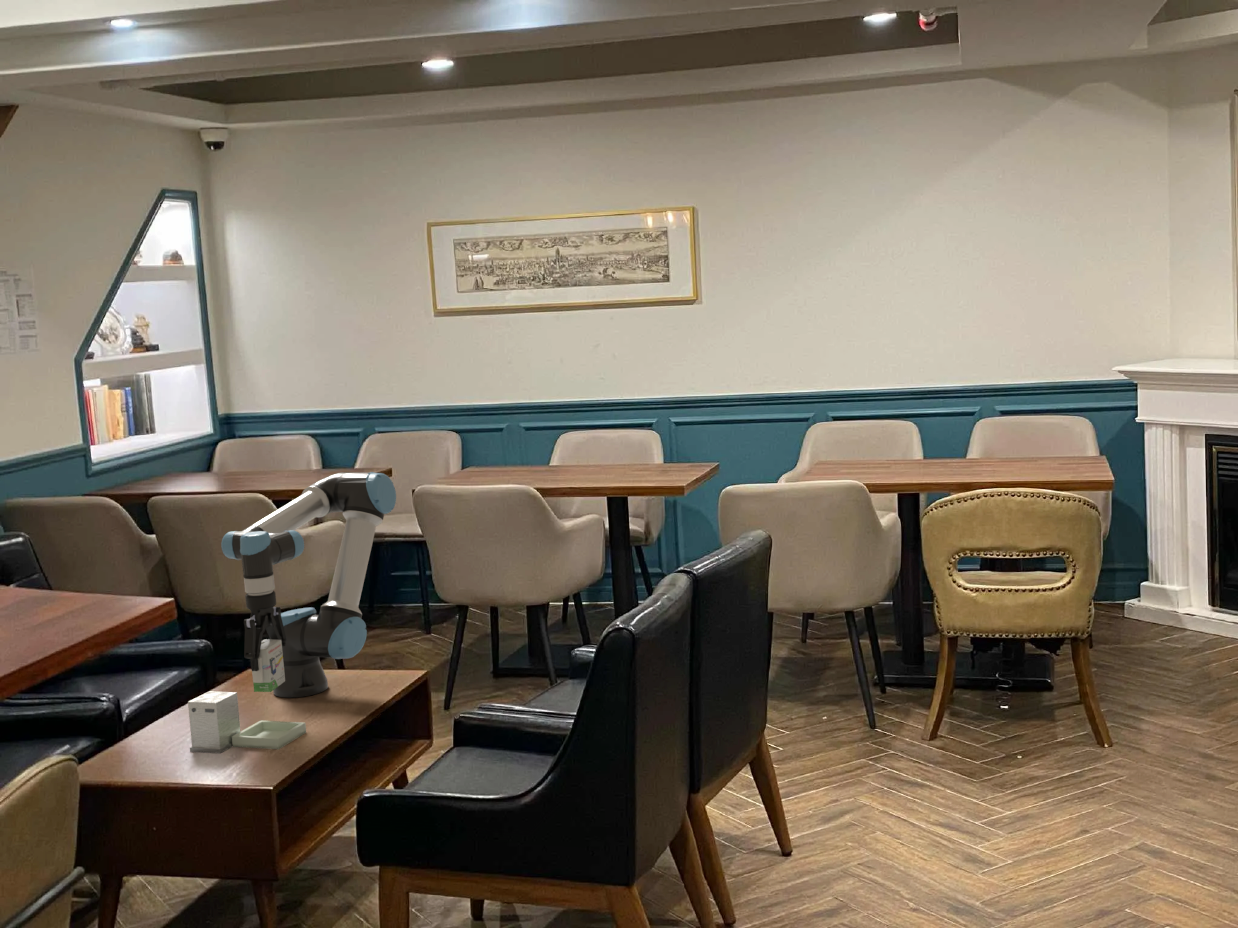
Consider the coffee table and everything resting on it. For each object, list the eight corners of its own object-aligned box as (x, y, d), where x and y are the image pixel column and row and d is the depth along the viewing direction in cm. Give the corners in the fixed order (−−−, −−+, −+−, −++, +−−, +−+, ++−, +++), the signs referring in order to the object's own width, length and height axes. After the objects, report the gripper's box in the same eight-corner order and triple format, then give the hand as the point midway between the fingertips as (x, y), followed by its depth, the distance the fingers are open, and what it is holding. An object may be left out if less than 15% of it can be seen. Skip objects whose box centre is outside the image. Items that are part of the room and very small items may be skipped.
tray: (261, 729, 338) (260, 720, 338) (306, 732, 334) (305, 722, 334) (232, 746, 326) (231, 736, 325) (278, 749, 322) (277, 738, 321)
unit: (213, 738, 333) (209, 690, 332) (243, 739, 330) (239, 691, 329) (190, 751, 324) (185, 702, 322) (220, 753, 321) (215, 703, 320)
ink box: (268, 681, 346) (263, 638, 345) (286, 681, 345) (281, 638, 344) (253, 692, 338) (248, 648, 336) (271, 692, 337) (266, 648, 335)
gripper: (270, 582, 350) (278, 663, 353) (223, 602, 329) (232, 689, 332) (295, 582, 347) (303, 664, 350) (249, 602, 327) (258, 690, 330)
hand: (268, 676), depth 341 cm, fingers closed on ink box, 9 cm apart
